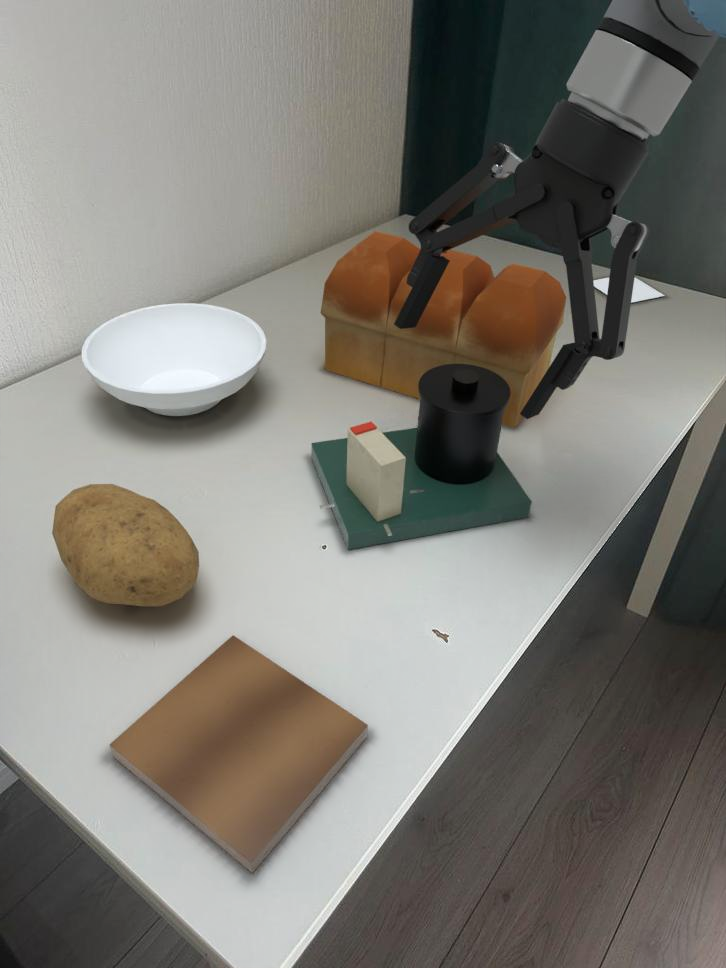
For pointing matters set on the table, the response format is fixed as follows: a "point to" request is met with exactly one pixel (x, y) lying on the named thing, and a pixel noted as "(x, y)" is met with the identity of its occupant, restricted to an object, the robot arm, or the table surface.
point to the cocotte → (459, 422)
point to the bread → (439, 320)
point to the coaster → (639, 289)
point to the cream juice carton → (375, 471)
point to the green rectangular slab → (416, 497)
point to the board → (240, 749)
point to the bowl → (175, 356)
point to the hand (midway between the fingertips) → (464, 369)
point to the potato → (124, 546)
